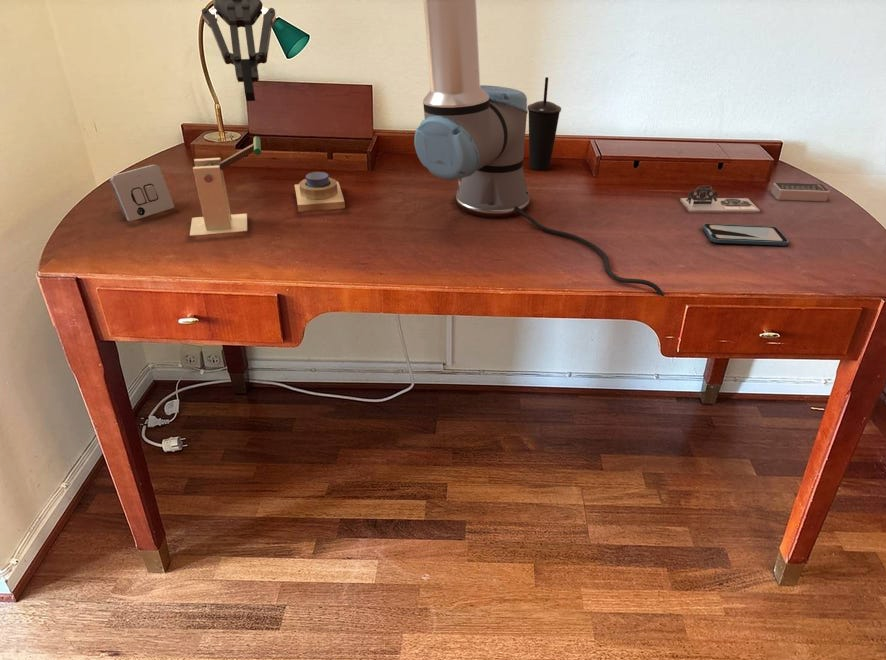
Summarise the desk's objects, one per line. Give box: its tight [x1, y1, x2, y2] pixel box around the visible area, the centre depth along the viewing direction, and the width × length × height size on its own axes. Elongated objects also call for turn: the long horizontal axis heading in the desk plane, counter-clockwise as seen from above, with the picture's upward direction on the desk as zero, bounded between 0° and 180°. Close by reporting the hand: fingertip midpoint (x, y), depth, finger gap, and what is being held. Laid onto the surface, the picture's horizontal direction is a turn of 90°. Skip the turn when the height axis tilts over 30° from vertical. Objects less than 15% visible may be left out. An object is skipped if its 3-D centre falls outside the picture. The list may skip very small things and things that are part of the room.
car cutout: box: [679, 185, 761, 214], centre depth 144 cm, size 15×7×4 cm, turn 94°
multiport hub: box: [770, 182, 831, 202], centre depth 150 cm, size 4×11×2 cm, turn 90°
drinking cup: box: [527, 76, 562, 171], centre depth 156 cm, size 8×8×20 cm
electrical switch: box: [108, 164, 175, 222], centre depth 130 cm, size 9×5×9 cm, turn 141°
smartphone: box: [702, 223, 790, 247], centre depth 132 cm, size 7×1×15 cm
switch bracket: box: [189, 157, 248, 237], centre depth 125 cm, size 10×8×13 cm
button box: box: [294, 177, 346, 213], centre depth 138 cm, size 9×11×4 cm
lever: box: [204, 135, 262, 170], centre depth 122 cm, size 12×7×2 cm, turn 104°
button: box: [305, 171, 330, 188], centre depth 137 cm, size 4×4×2 cm
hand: (250, 96), depth 122 cm, fingers closed
